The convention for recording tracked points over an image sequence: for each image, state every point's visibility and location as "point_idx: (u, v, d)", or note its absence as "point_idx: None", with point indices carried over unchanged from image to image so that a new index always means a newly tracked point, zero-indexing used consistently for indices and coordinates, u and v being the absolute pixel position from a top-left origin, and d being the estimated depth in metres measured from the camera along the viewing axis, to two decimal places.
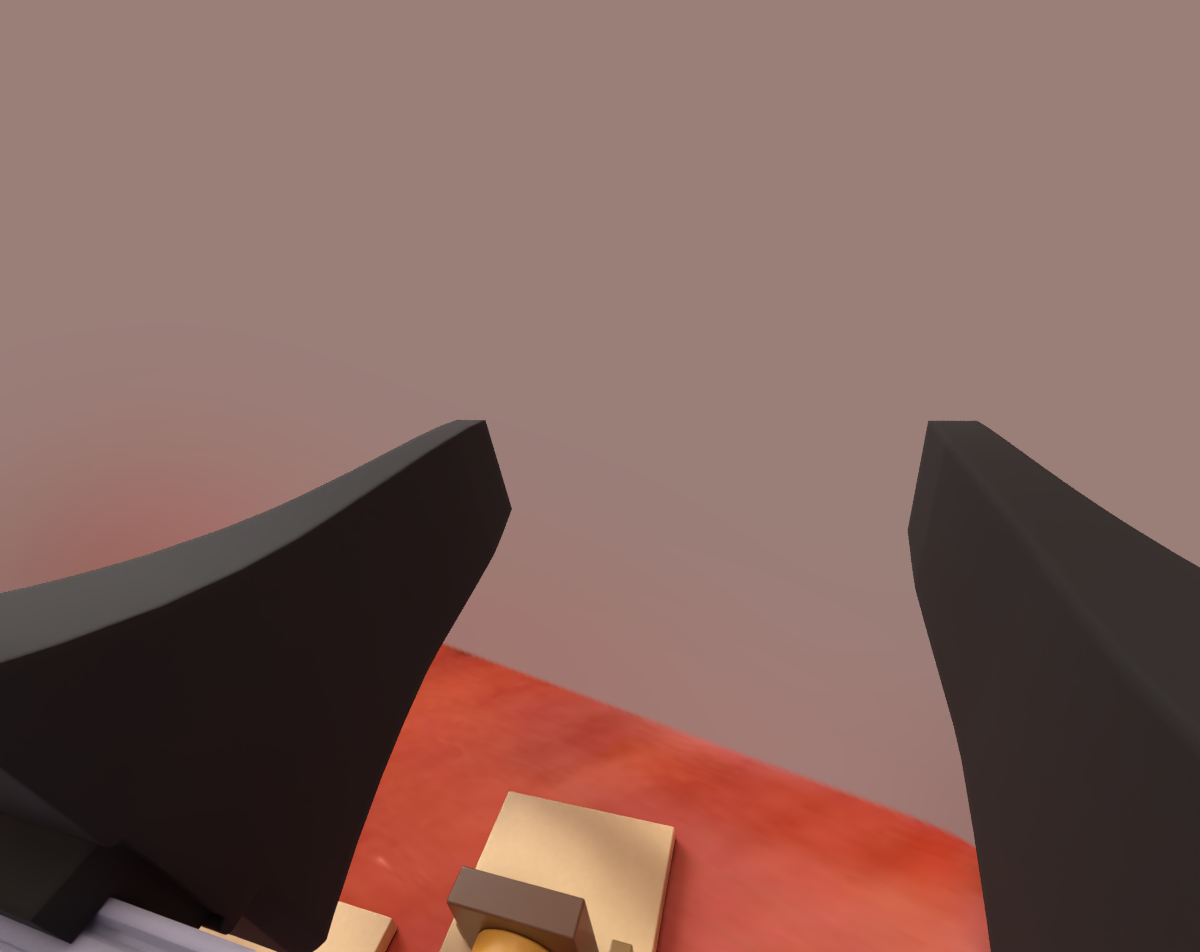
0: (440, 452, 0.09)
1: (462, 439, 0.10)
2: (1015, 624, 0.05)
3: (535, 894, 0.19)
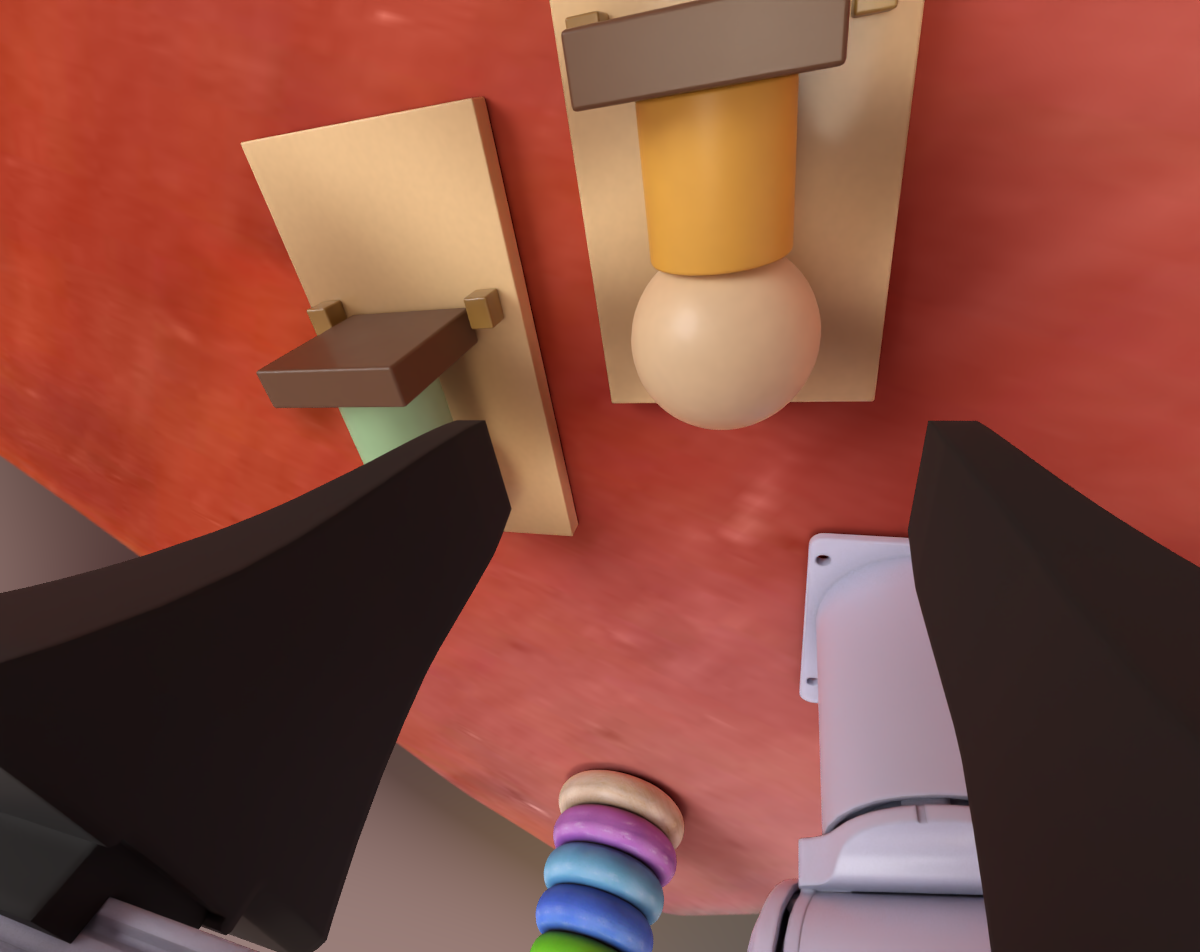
0: (440, 452, 0.09)
1: (462, 439, 0.10)
2: (1015, 624, 0.05)
3: (736, 14, 0.09)
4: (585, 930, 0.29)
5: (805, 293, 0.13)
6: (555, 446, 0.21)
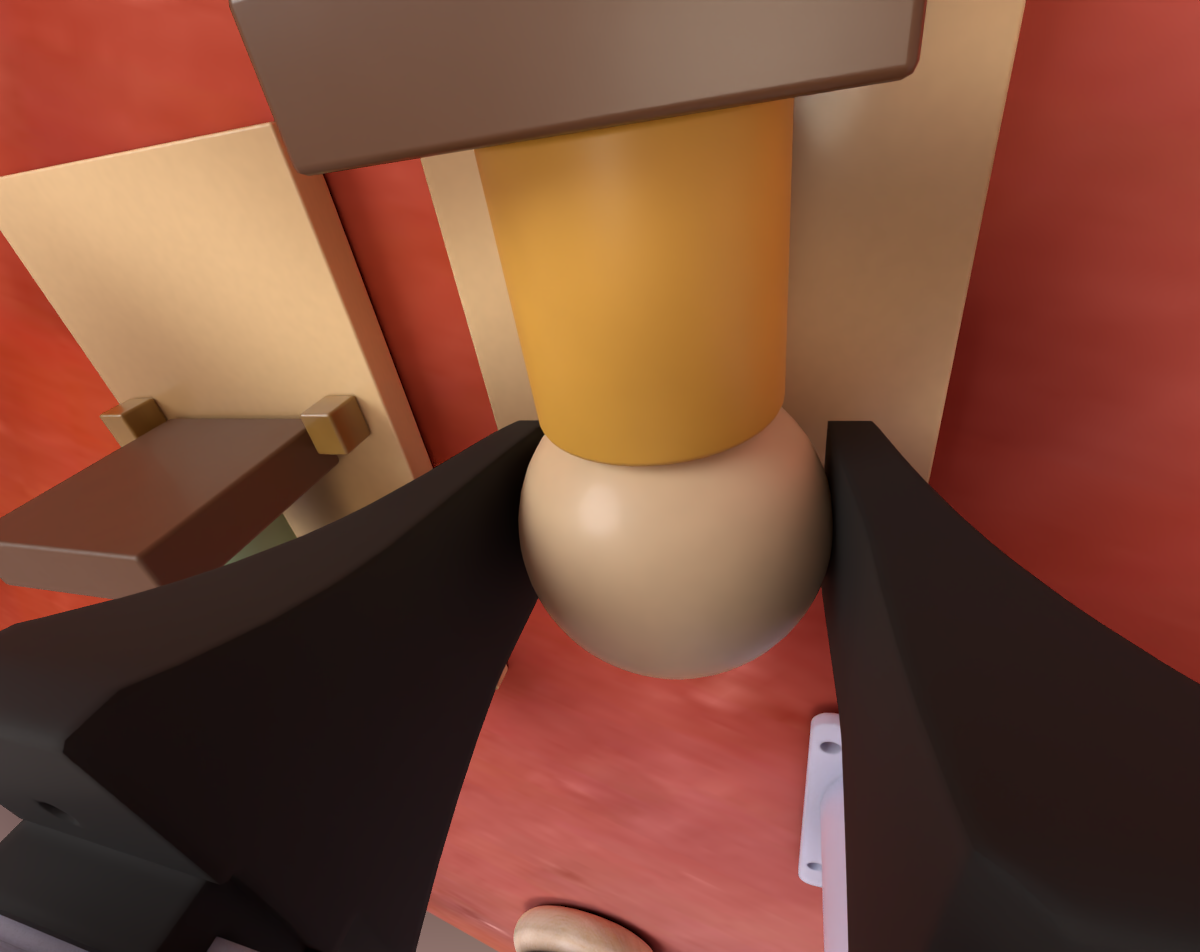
0: (512, 453, 0.09)
1: (531, 440, 0.09)
2: (861, 610, 0.06)
3: None
4: None
5: (807, 481, 0.07)
6: None
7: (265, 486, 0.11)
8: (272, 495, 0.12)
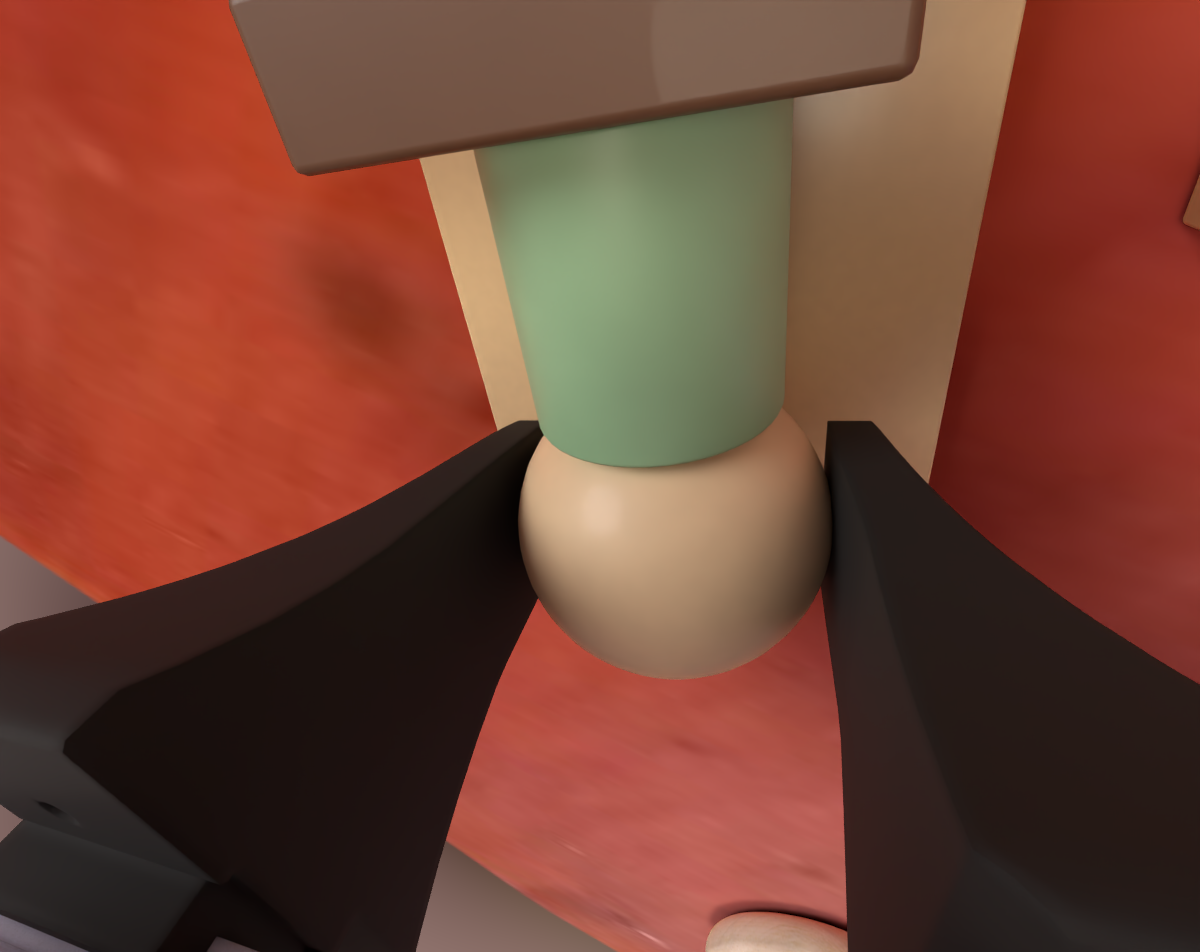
0: (512, 454, 0.09)
1: (531, 440, 0.09)
2: (861, 610, 0.06)
3: None
4: None
5: None
6: None
7: None
8: None
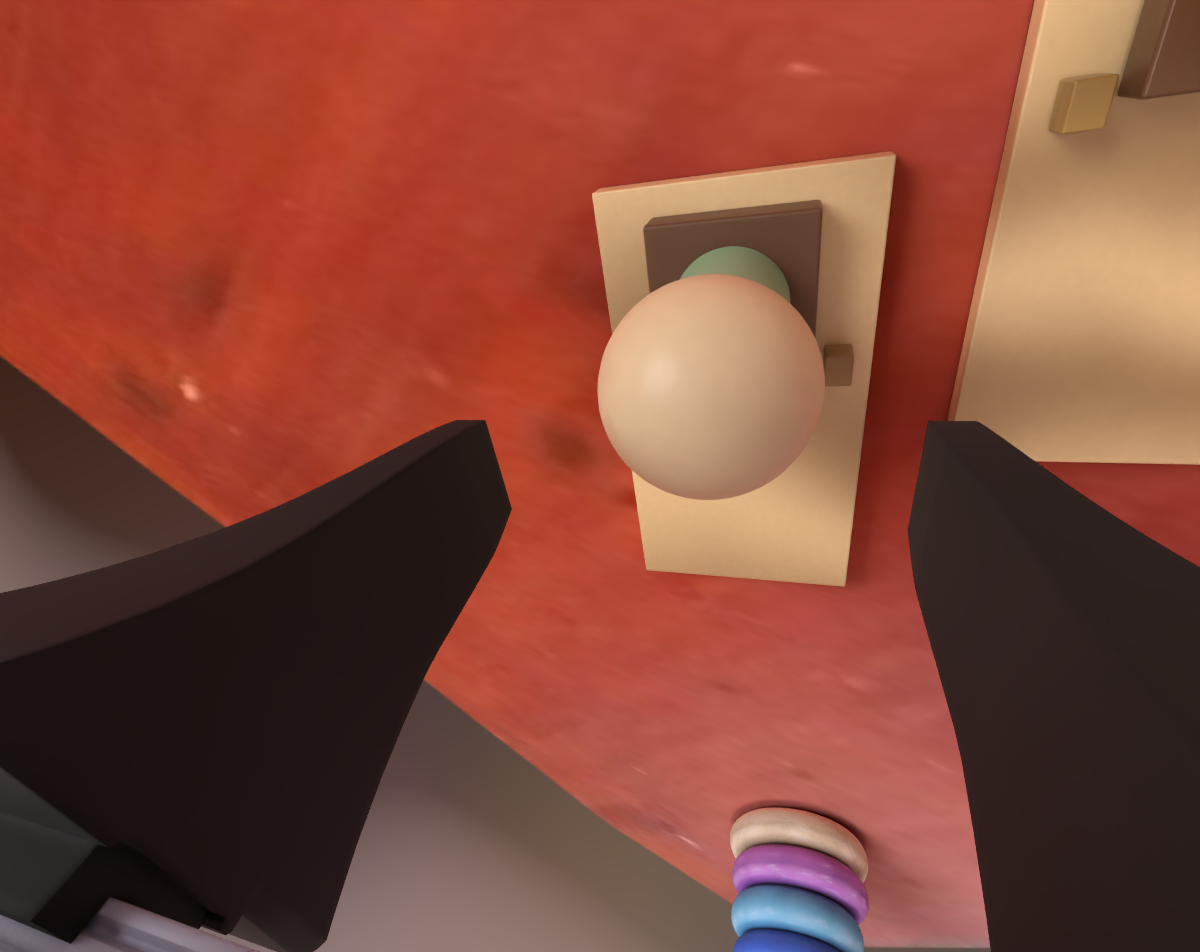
0: (440, 452, 0.09)
1: (462, 439, 0.10)
2: (1015, 624, 0.05)
3: None
4: None
5: None
6: None
7: None
8: None
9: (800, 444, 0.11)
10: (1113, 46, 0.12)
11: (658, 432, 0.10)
